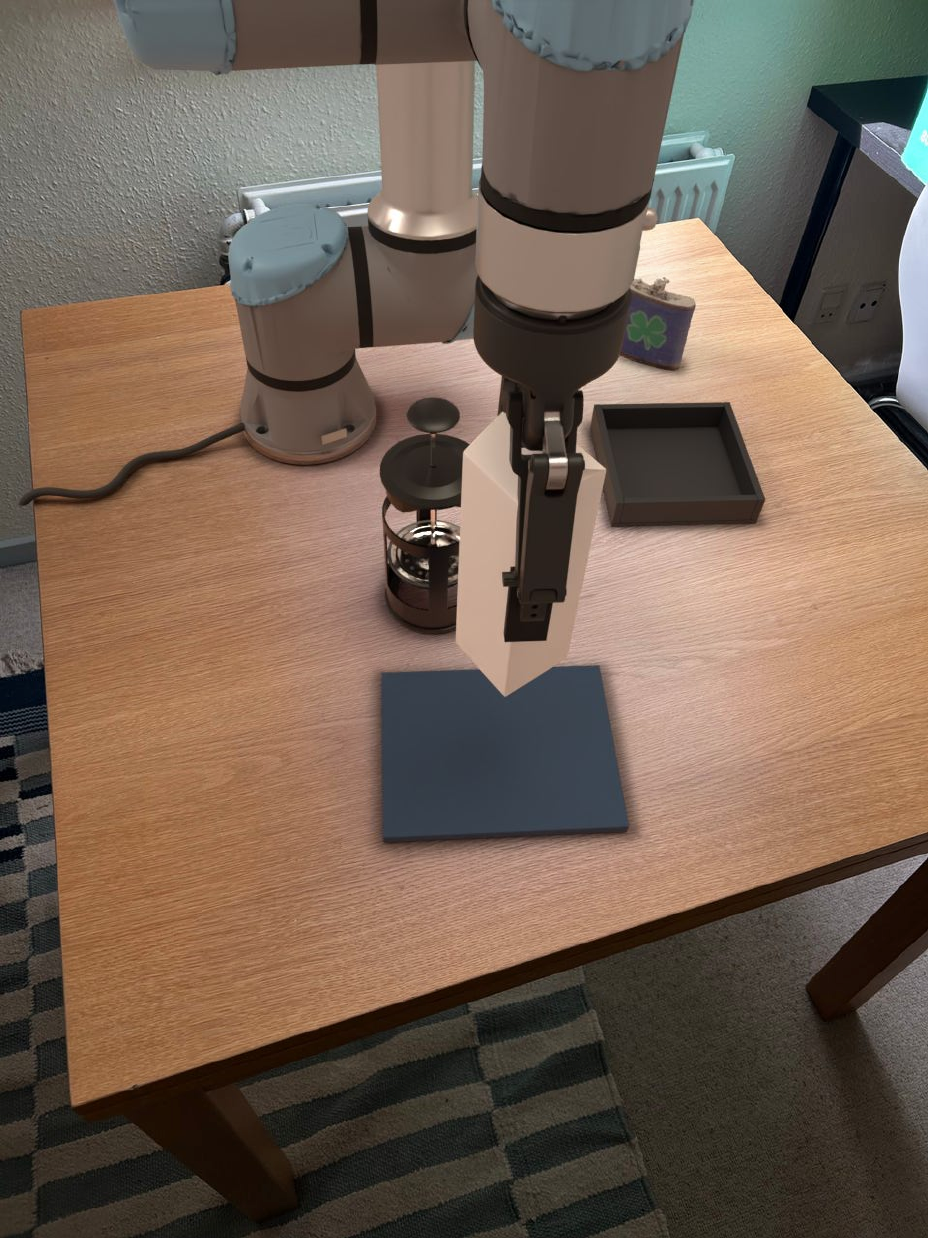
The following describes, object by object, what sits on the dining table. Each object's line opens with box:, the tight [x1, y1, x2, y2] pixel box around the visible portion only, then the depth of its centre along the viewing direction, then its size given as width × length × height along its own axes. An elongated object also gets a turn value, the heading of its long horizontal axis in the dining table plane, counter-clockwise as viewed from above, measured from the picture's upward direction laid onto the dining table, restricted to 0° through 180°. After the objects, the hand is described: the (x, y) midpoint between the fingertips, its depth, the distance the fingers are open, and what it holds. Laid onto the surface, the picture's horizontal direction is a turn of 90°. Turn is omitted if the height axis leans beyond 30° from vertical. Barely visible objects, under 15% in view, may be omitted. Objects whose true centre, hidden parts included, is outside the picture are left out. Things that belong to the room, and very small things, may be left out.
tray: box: [589, 401, 766, 527], centre depth 100 cm, size 16×16×4 cm
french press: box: [379, 396, 471, 635], centre depth 81 cm, size 12×9×23 cm
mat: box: [381, 664, 630, 843], centre depth 79 cm, size 20×16×1 cm
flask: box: [619, 276, 697, 371], centre depth 110 cm, size 9×3×11 cm, turn 61°
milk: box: [455, 411, 606, 697], centre depth 59 cm, size 6×6×22 cm
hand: (518, 583), depth 61 cm, fingers closed on milk, 8 cm apart
